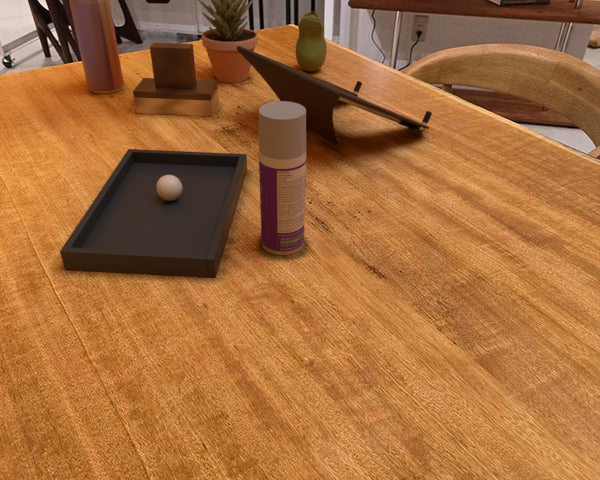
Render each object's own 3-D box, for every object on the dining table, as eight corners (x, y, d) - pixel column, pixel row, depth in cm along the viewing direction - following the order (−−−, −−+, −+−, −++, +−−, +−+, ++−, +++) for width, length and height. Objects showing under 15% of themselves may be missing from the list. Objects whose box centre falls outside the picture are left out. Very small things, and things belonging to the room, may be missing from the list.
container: (255, 236, 66) (250, 104, 56) (294, 228, 67) (295, 97, 58) (270, 259, 62) (267, 122, 53) (310, 250, 64) (315, 115, 54)
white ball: (155, 204, 69) (151, 181, 67) (161, 192, 71) (158, 169, 70) (180, 206, 69) (177, 183, 67) (186, 193, 71) (183, 170, 69)
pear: (326, 66, 110) (329, 8, 104) (324, 76, 106) (326, 16, 100) (297, 65, 111) (297, 7, 105) (293, 74, 107) (294, 15, 100)
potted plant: (258, 67, 109) (253, -91, 94) (259, 86, 102) (254, -83, 86) (203, 68, 109) (190, -92, 93) (201, 86, 101) (186, -84, 86)
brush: (136, 113, 92) (125, 50, 86) (146, 99, 97) (137, 38, 91) (212, 116, 92) (207, 53, 85) (219, 102, 96) (214, 40, 90)
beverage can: (98, 97, 97) (77, -3, 87) (82, 87, 100) (60, -10, 91) (131, 89, 100) (114, -9, 90) (114, 79, 103) (96, -16, 94)
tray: (64, 269, 60) (59, 251, 59) (131, 164, 79) (128, 148, 77) (215, 277, 60) (214, 259, 58) (247, 170, 78) (246, 153, 76)
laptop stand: (422, 179, 89) (450, 120, 86) (317, 150, 73) (347, 76, 69) (326, 128, 103) (347, 75, 100) (220, 94, 87) (241, 30, 83)
